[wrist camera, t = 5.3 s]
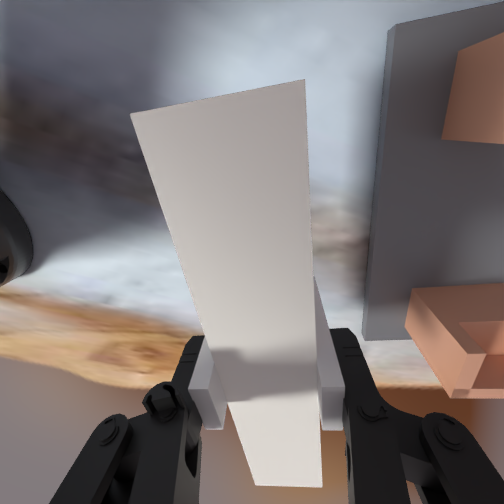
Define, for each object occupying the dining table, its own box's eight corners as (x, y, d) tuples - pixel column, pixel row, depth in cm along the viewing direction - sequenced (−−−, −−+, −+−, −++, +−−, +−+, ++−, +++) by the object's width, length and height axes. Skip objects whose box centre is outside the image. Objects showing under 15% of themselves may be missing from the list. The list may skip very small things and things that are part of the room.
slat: (259, 389, 20) (255, 485, 15) (198, 119, 11) (129, 113, 5) (308, 388, 19) (322, 487, 14) (287, 103, 10) (304, 79, 5)
